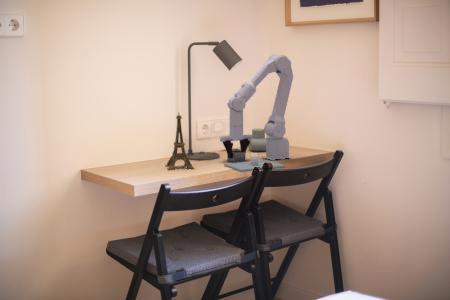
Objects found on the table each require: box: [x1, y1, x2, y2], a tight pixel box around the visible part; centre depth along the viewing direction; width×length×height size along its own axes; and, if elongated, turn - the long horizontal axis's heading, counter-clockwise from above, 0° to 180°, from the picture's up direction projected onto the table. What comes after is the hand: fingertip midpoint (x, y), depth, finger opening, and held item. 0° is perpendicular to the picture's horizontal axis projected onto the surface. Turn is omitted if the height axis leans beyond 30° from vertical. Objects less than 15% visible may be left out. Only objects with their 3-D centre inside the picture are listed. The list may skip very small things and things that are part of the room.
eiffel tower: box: [164, 113, 195, 171], centre depth 267 cm, size 11×11×25 cm
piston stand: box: [224, 152, 286, 173], centre depth 270 cm, size 20×14×5 cm
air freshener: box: [247, 128, 266, 153], centre depth 309 cm, size 11×8×10 cm
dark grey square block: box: [226, 149, 246, 163], centre depth 283 cm, size 6×6×4 cm
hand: (236, 157), depth 283 cm, fingers closed on dark grey square block, 6 cm apart
